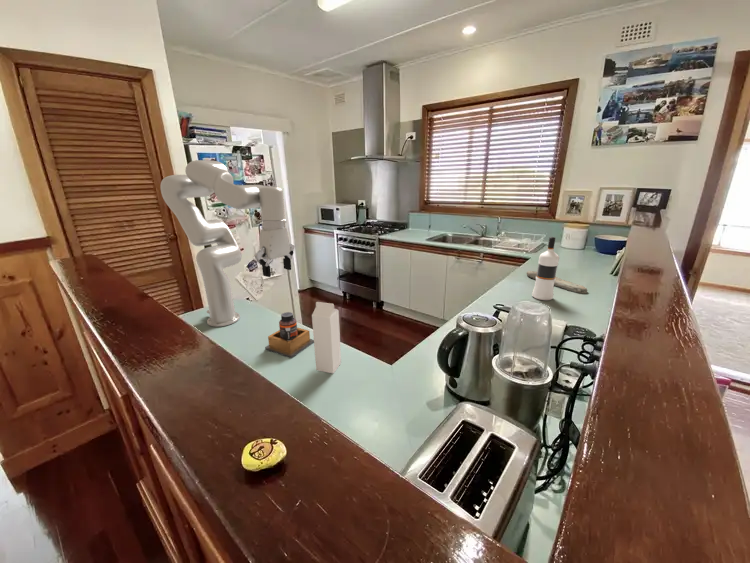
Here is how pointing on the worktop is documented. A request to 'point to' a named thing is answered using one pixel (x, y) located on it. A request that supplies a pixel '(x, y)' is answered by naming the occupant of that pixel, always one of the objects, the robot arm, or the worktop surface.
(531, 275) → the elongated rock
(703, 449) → the worktop surface
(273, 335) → the square wooden tray
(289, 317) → the supplement bottle
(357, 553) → the worktop surface
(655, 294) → the worktop surface
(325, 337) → the milk
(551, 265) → the vodka
